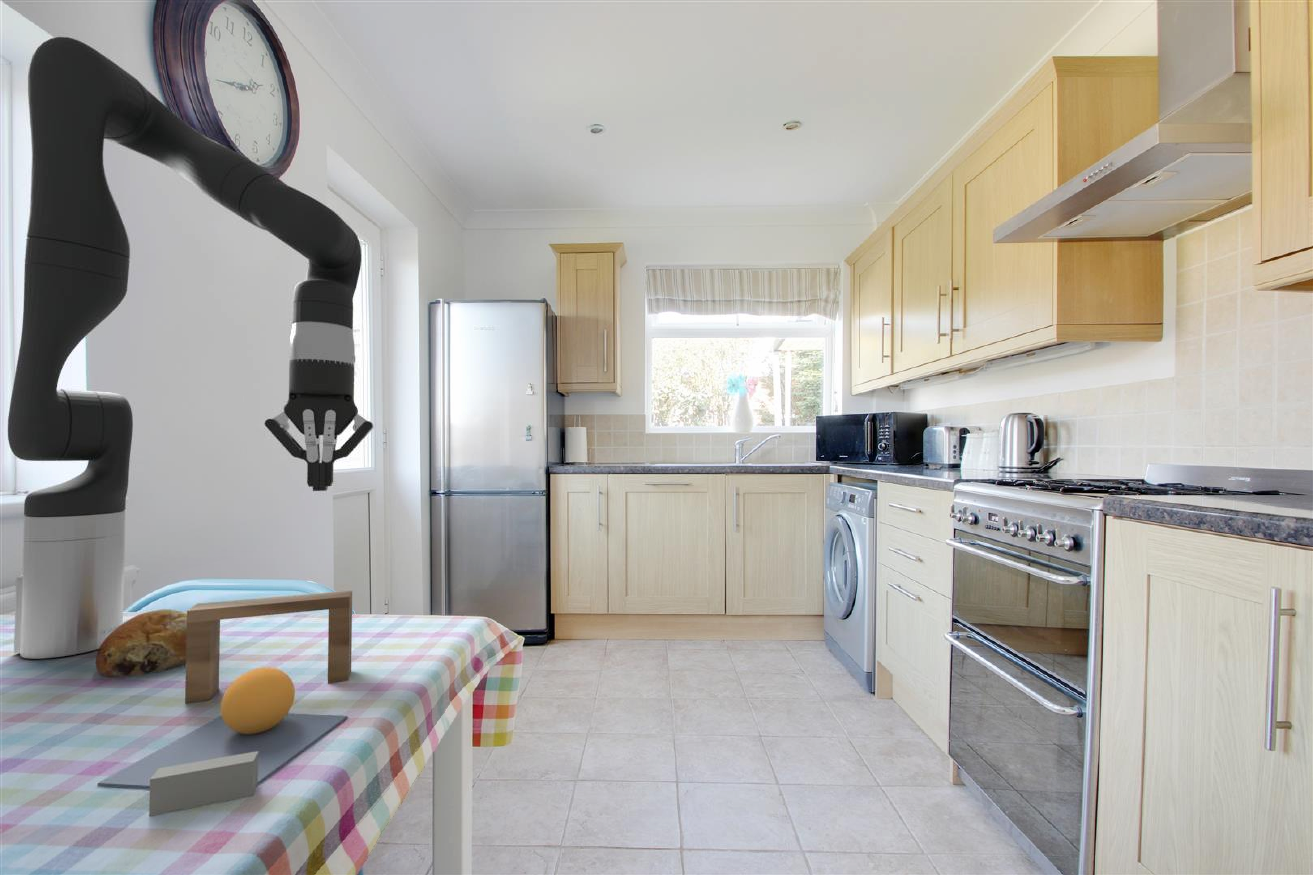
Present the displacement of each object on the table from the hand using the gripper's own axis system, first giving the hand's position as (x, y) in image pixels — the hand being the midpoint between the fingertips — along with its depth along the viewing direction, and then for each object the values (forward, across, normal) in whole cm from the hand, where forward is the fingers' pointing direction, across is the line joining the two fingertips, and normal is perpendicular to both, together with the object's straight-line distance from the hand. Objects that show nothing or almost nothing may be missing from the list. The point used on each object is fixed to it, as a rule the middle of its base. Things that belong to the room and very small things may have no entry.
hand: (320, 490), depth 76 cm
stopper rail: (+20, -2, -36) cm, 41 cm away
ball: (+17, -1, -26) cm, 31 cm away
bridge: (+20, -2, -14) cm, 25 cm away
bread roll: (+21, -17, 0) cm, 27 cm away
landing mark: (+20, -2, -28) cm, 35 cm away
